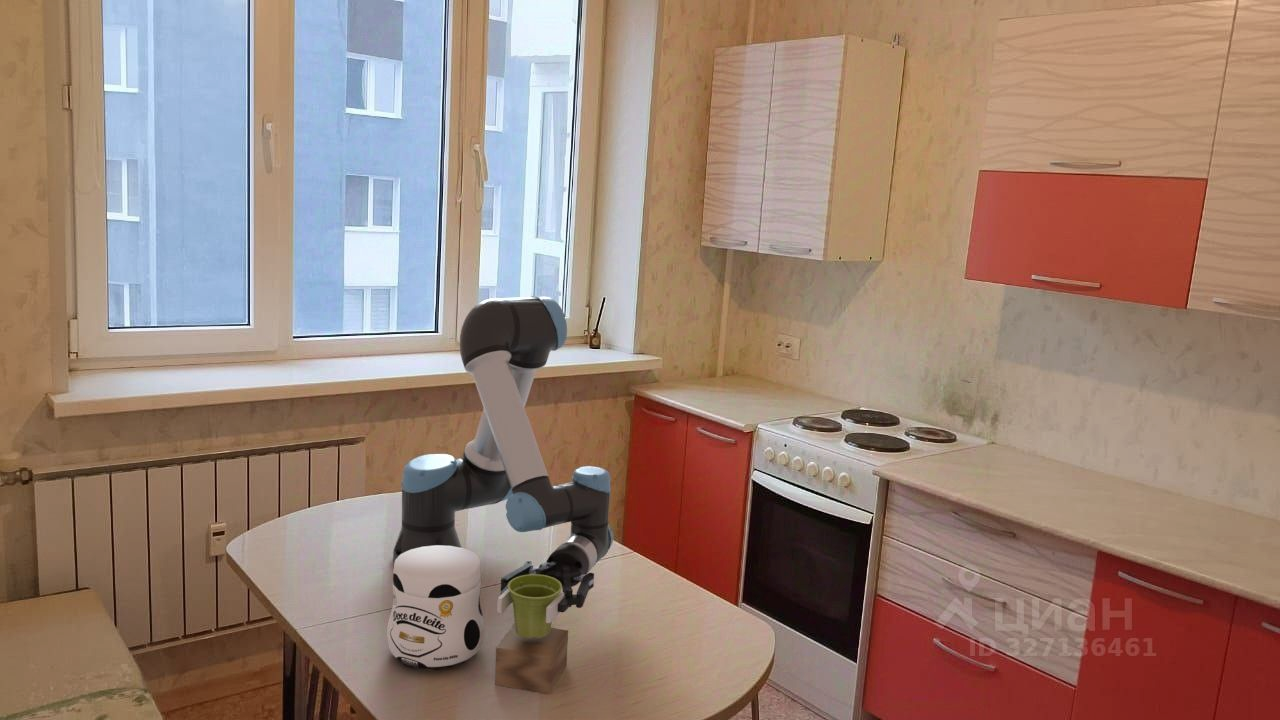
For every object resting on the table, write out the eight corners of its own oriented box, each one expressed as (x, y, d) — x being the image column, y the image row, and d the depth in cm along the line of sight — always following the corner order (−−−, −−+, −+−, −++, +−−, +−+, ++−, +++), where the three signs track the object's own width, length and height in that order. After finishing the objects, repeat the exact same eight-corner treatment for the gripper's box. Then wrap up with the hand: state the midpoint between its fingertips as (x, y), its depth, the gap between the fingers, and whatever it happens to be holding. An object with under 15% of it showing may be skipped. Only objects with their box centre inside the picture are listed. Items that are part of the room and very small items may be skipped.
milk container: (388, 682, 167) (389, 584, 163) (385, 635, 183) (386, 545, 180) (489, 673, 172) (492, 578, 168) (477, 628, 188) (480, 540, 185)
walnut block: (494, 684, 168) (496, 647, 167) (514, 657, 178) (515, 622, 176) (550, 694, 166) (551, 656, 165) (566, 666, 176) (568, 630, 174)
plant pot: (570, 629, 172) (572, 584, 170) (537, 649, 164) (539, 602, 162) (529, 614, 177) (531, 569, 175) (495, 633, 169) (496, 586, 167)
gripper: (622, 590, 184) (580, 643, 162) (520, 570, 190) (466, 619, 168) (624, 552, 182) (583, 601, 161) (521, 534, 188) (467, 578, 167)
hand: (523, 610), depth 165 cm, fingers closed on plant pot, 8 cm apart
